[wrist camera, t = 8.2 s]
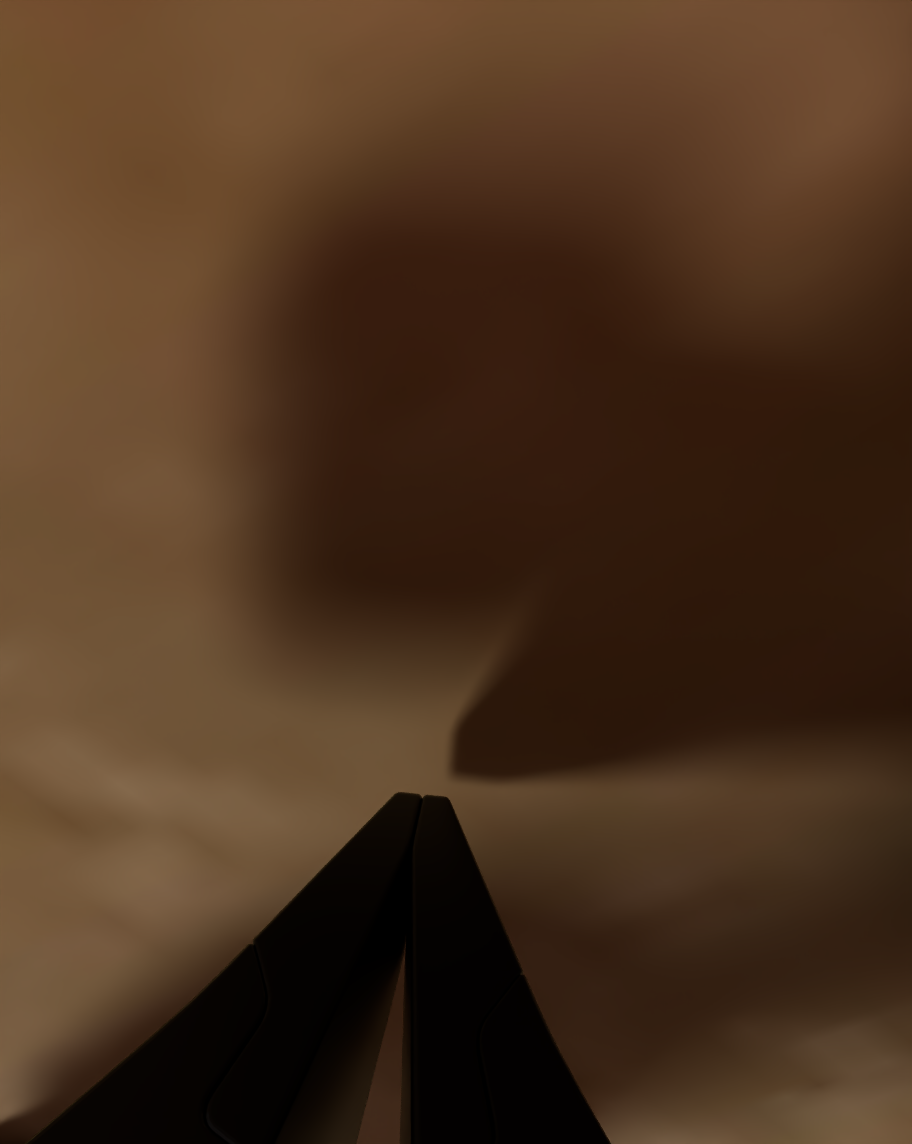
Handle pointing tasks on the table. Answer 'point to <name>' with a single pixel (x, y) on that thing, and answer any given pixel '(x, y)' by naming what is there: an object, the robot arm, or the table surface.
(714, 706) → the table surface
